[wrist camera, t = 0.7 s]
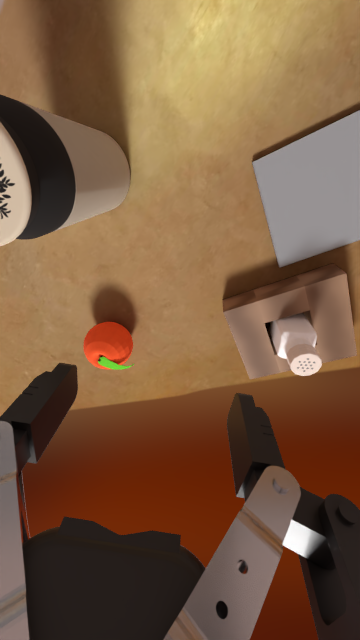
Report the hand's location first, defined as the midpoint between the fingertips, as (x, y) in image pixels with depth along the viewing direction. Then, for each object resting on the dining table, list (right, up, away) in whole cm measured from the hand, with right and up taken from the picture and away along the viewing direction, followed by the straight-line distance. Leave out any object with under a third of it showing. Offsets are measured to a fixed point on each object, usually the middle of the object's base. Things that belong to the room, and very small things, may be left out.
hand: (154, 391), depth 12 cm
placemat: (+18, +18, +14) cm, 29 cm away
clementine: (-8, +2, +27) cm, 28 cm away
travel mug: (-8, +20, +16) cm, 27 cm away
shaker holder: (+16, +4, +22) cm, 28 cm away
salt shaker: (+16, +4, +22) cm, 28 cm away
